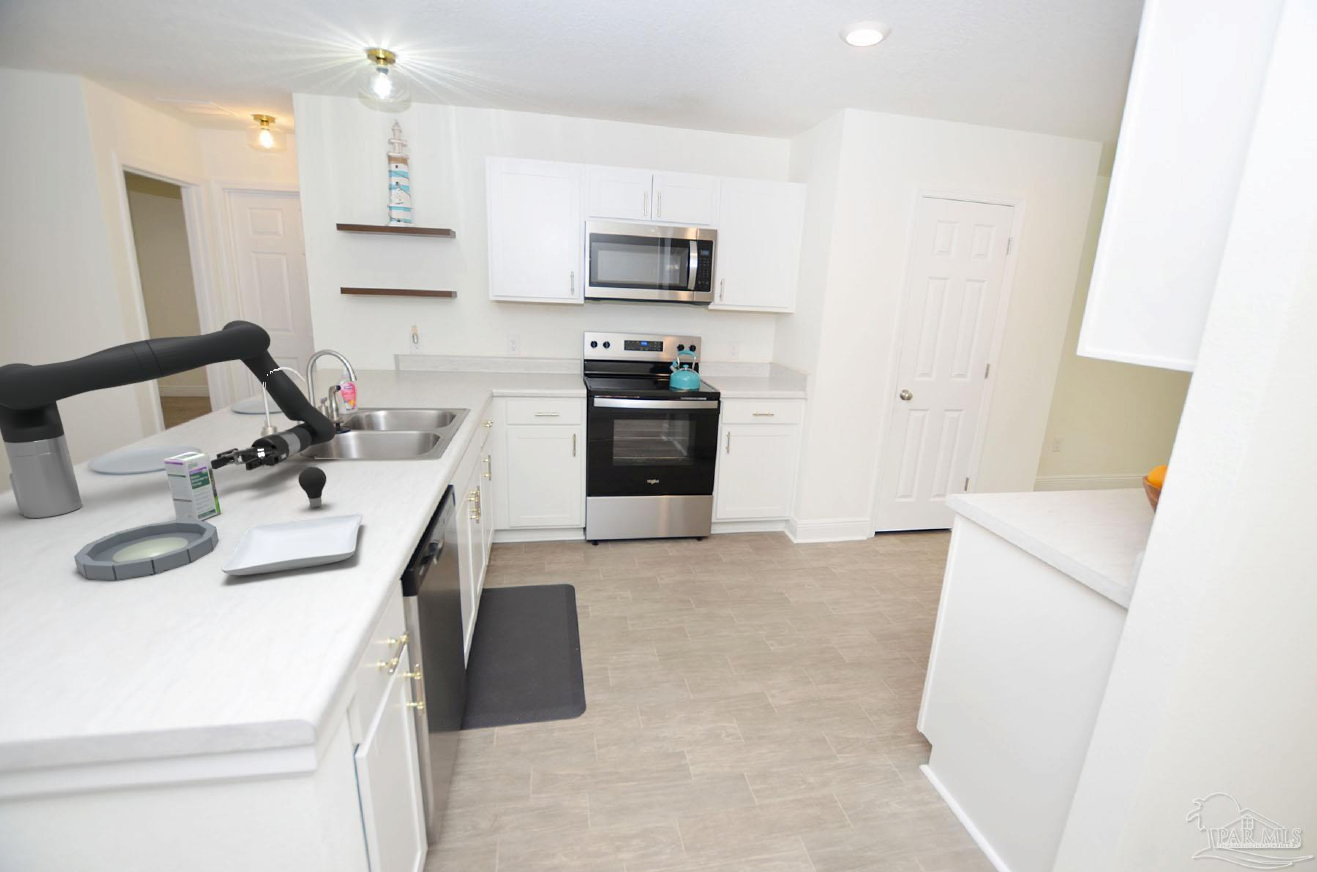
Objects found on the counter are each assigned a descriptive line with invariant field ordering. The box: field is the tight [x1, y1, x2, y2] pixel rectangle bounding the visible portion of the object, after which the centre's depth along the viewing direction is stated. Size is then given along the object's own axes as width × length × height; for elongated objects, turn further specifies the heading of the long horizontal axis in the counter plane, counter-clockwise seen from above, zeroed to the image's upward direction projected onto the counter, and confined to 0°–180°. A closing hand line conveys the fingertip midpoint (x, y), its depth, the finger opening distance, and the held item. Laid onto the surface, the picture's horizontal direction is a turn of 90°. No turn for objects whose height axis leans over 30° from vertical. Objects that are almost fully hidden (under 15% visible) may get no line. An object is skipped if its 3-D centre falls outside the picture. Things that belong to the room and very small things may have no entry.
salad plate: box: [221, 512, 363, 576], centre depth 113 cm, size 21×21×3 cm
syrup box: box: [163, 451, 222, 521], centre depth 126 cm, size 6×6×14 cm
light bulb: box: [297, 466, 327, 509], centre depth 134 cm, size 6×6×10 cm
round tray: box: [73, 519, 219, 581], centre depth 110 cm, size 20×20×3 cm
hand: (229, 466), depth 137 cm, fingers open, 8 cm apart
